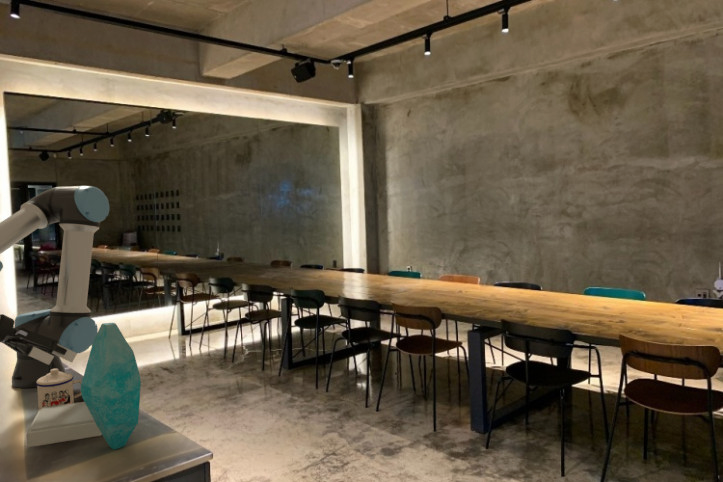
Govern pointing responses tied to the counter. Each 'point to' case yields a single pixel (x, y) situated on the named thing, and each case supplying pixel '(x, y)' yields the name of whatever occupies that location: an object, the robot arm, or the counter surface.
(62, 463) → the counter surface
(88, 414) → the plinth
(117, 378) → the crystal
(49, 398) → the teacup with lid
